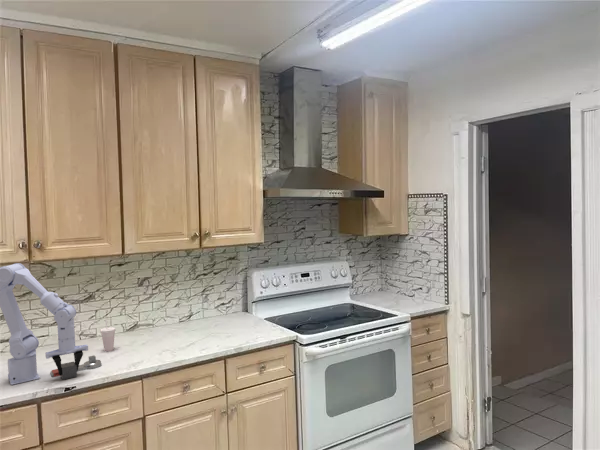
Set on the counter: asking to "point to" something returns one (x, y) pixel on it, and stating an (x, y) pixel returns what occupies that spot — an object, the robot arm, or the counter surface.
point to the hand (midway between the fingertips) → (68, 372)
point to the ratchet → (82, 366)
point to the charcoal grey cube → (68, 370)
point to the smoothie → (108, 337)
